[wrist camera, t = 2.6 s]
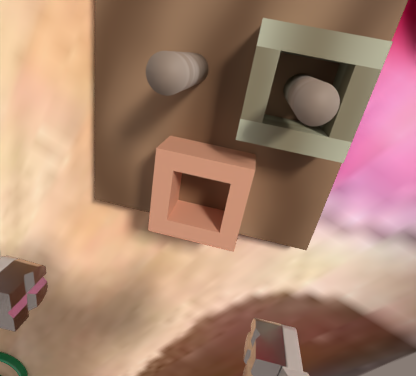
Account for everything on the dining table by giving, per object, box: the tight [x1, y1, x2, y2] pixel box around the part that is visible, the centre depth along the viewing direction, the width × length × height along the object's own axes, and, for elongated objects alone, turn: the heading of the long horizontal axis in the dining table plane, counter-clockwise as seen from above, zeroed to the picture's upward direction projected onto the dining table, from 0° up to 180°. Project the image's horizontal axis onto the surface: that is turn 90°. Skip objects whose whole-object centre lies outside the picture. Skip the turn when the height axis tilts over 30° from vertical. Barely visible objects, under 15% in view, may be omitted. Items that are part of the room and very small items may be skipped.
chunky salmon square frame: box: [148, 136, 256, 252], centre depth 20 cm, size 6×6×3 cm
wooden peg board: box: [95, 0, 408, 250], centre depth 16 cm, size 17×20×8 cm
